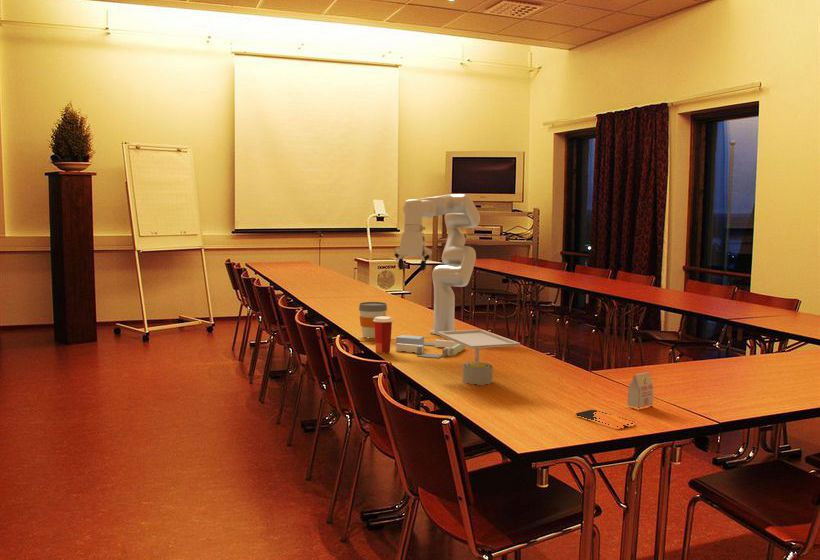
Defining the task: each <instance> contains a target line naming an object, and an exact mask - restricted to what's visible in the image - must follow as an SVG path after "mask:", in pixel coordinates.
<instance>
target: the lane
mask: <svg viewBox="0 0 820 560" xmlns="http://www.w3.org/2000/svg"><path fill="white" fill-rule="evenodd" d="M424 345H429V346H428V347H434V348H438V347H445V348H442V352H441V353H442V354H437V353H427V352H425V353H424V348H423V345H412V344H400V343H397V344H396V343H395V352H401V351H406V352H405V353H412V352H415V354H416V357H417V356H418V357H417V358H427V359H429V358H430V359H438V358H439V359H440V358H446V357H454V356H456V355H457V354H459V353H461V352H462V351H463V350H464V351H465V347H466V346H463V345H461V344H459V343H456V342H454V341H452V340H448V339H447V340H444V339H441V338H437V339H435V342H429V341H424ZM458 352H459V353H458ZM417 354H419V355H417ZM447 355H448V356H447ZM453 355H454V356H453ZM445 356H446V357H445Z"/></svg>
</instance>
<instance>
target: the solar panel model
mask: <svg viewBox="0 0 820 560" xmlns="http://www.w3.org/2000/svg"><path fill="white" fill-rule="evenodd" d="M437 334H438V335H437V336H440V337H443V338H445V339H447V340H448V341H454V342H456V343H459V344H461V345H463V346H465V347H466V348H468V349H471V350H474V361H468V362H465V363H463V364H462V382H463V383H465V384H467V383H469V384H468V385H472V384H477V385H476V386H486V385H485V384H488V385H491V384H493V374H494V373H493V371H494V370H493V369H494V367H493V366H494V365H492V364H491V363H488V362H481V361H480V349H486V348H487V349H488V348H503V347H504V348H505V347H520V346H521V342H518V341H515V340H513V339H510V338H507V337H504V336H501V335H499V334H496V333H493V332H491V331H487V330H484V329H481V328H480V329H479V328H478V329H466V330H464V329H463V330H457V331H440V332H437ZM490 383H491V384H490Z"/></svg>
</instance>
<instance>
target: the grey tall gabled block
mask: <svg viewBox="0 0 820 560" xmlns="http://www.w3.org/2000/svg"><path fill="white" fill-rule="evenodd" d="M653 404H654V385H653V381H652V379H651V375H650V372H648V371H647V372H643V373H637V374H634V375H633V376H632V379H631V382H630V383H629V385H628V387H627V405H629V406H633V407H637V408H640V407H645V406H649V405H653Z"/></svg>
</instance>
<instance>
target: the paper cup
mask: <svg viewBox="0 0 820 560" xmlns="http://www.w3.org/2000/svg"><path fill="white" fill-rule="evenodd" d="M392 318H393V317H391V316H387V315H386V316H380V317H375V318H374V320H373V321H374V329H375V339H374V345H375V353H376V352H377V353H376V354H380V353H386V354H390V353H389V352H390V351H391V340H392V328H393V327H392V325H393V319H392Z"/></svg>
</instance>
